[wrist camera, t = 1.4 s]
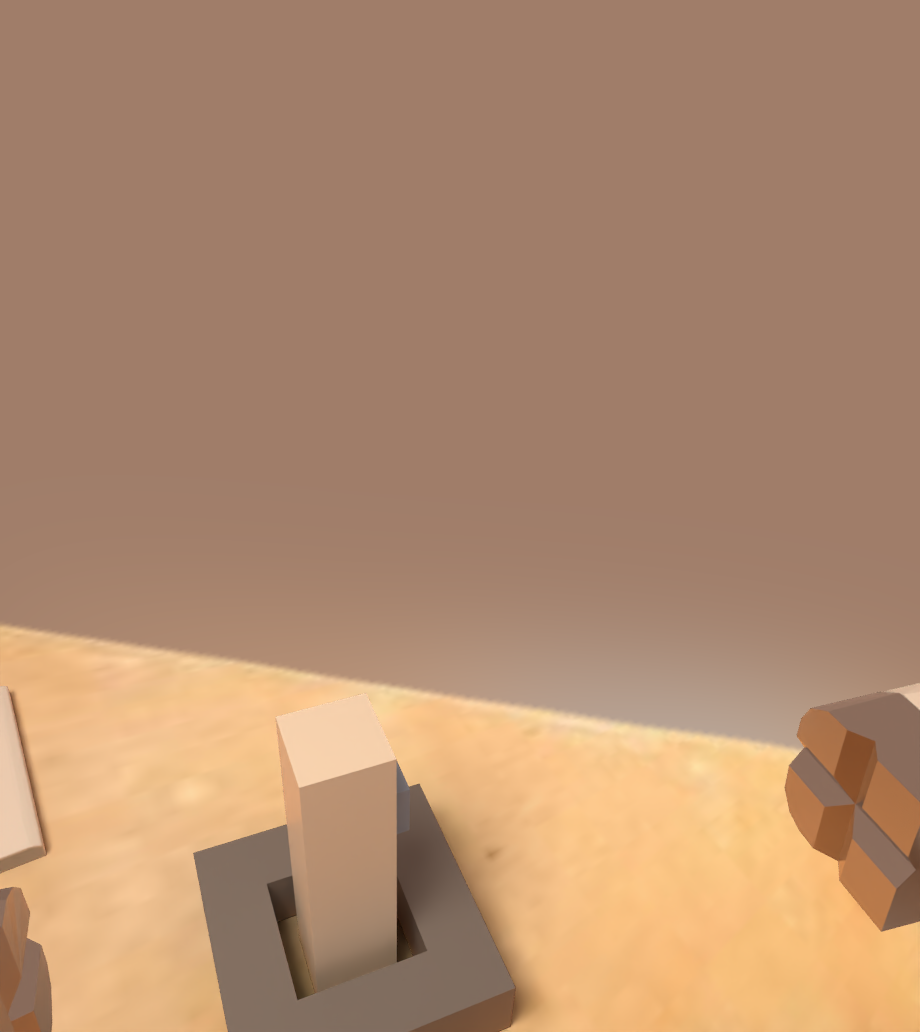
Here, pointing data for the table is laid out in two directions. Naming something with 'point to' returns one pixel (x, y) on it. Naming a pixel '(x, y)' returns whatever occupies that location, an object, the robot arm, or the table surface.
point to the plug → (343, 836)
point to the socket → (374, 996)
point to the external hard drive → (15, 796)
